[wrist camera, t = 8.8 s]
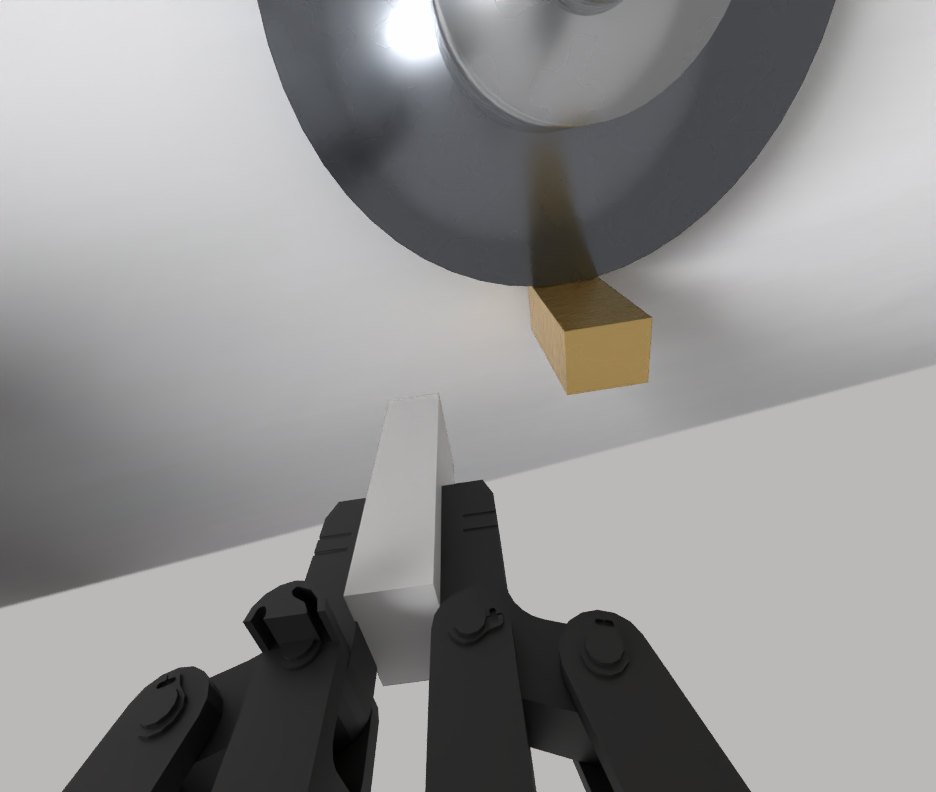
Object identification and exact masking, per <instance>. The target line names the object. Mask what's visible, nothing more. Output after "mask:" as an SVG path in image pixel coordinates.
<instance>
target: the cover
mask: <svg viewBox="0 0 936 792" xmlns="http://www.w3.org/2000/svg"><path fill="white" fill-rule="evenodd" d="M730 2H731V0H430V11H431V17H432V23H433V29H434V33H435V37H436V40H437V44H438V47H439V51H440V53H441V55H442V58H443V60H444V63H445V65H446V68H447V69H448V71H449V73H450V75H451V77H452V79H453V80H454V82H455V84H456V85H457V86H458V88H459V89H460V91H461V92H462V93H463V95H464V96H465V97H466V98H467V99H468V100H469V101H470V102H471V104H472V105H473V106H474V107H475V108H477V109H478V110H479V111H480V112H481V113H483V114H484V115H485V116H487V117H488V118H490V119H491V120H493V121H495V122H496V123H498V124H500V125H503V126H505V127H507V128H510V129H513V130H517V131H521V132H528V133H550V132H555V131H560V130H565V129H570V128H575V127H580V126H585V125H590V124H595V123H599V122H604V121H609V120H611V119H614V118H617V117H620V116H622V115H625V114H627V113H629V112H631V111H633V110H635V109H637V108H639V107H641V106H643V105H644V104H646V103H647V102H649V101H650V100H652V99H653V98H654V97H656V96H657V95H659V94H660V93H662V92H663V91H664V90H665V89H666V88H667V87H668V86H670V85H671V84H672V83H673V82H674V81H675V80H676V79H677V78H679V76H680V75H681V74H682V73H683V72H684V71H685V70H686V69H687V68H688V67H689V65H690V64H691V63H692V62H693V61H694V60H695V59H696V57H697V56H698V55H699V53H700V52H701V50H702V49H703V48H704V46H705V45H706V44H707V42H708V41H709V40H710V38H711V36H712V35H713V33H714V31H715V30H716V28H717V26H718V25H719V23H720V21H721V20H722V18H723V16H724V14H725V12H726V10H727V8H728V6H729V4H730Z"/></svg>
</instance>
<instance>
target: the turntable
mask: <svg viewBox="0 0 936 792" xmlns="http://www.w3.org/2000/svg"><path fill="white" fill-rule="evenodd" d="M257 1H258V5H259V9H260V13H261V17H262V22H263V26H264V30H265V34H266V38H267V42H268V46H269V48H270V51H271V54H272V57H273V60H274V63H275V66H276V69H277V71H278V74H279V77H280V80H281V83H282V86H283V89H284V91H285V93H286V95H287V97H288V99H289V102H290V104H291V106H292V108H293V110H294V112H295V114H296V117H297V119H298V121H299V123H300V125H301V127H302V129H303V131H304V133H305V134H306V136H307V138H308V139H309V141H310V143H311V144H312V146H313V148H314V149H315V151H316V153H317V154H318V156H319V158H320V159H321V161H322V163H323V164H324V166H325V167H326V168H327V170H328V171H329V172H330V174H331V175H332V176H333V177H334V179H335V180H336V181H337V183H338V184H339V185H340V187H341V188H342V189H343V191H344V192H345V193H346V195H347V196H348V197H349V198H350V199H351V200H352V201H353V202H354V203H355V204H356V205H357V206H358V207H359V208H360V209H361V210H362V211H363V212H364V213H365V214H366V215H367V217H368V218H369V219H370V220H371V221H372V222H374V223H375V224H376V225H377V226H379V227H380V228H381V229H382V230H383V231H385V232H386V233H387V234H388V235H390V236H391V237H392V238H393V239H394V240H396V241H397V242H398V243H400V244H401V245H403V246H405V247H406V248H408V249H409V250H411V251H413V252H414V253H416V254H417V255H419V256H420V257H422V258H424V259H425V260H428V261H430V262H432V263H434V264H436V265H438V266H441V267H443V268H445V269H447V270H449V271H451V272H454V273H457V274H461V275H464V276H467V277H470V278H474V279H477V280H480V281H485V282H491V283H497V284H503V285H509V286H528V292H529V304H530V317H531V329H532V331H533V333H534V335H535V337H536V339H537V340H538V342H539V344H540V346H541V348H542V350H543V351H544V353H545V355H546V357H547V359H548V361H549V362H550V364H551V366H552V368H553V370H554V372H555V374H556V375H557V377H558V379H559V381H560V383H561V385H562V386H563V388H564V390H565V392H566V394H567V395H571V394H577V393H583V392H590V391H596V390H602V389H609V388H615V387H621V386H628V385H634V384H640V383H647V382H648V376H649V360H650V344H651V328H652V317H651V316H649V315H648V314H647V313H645V312H644V311H643V310H641V309H640V308H639V307H637V306H636V305H635V304H633V303H632V302H631V301H629V300H628V299H627V298H625V297H624V296H623V295H621V294H620V293H619V292H617V291H616V290H615V289H613V288H612V287H611V286H609V285H608V284H607V283H605V282H604V281H602V280H601V279H600V278H598V277H597V276H600V275H602V274H605V273H608V272H611V271H613V270H616V269H619V268H622V267H624V266H626V265H628V264H630V263H632V262H634V261H636V260H638V259H640V258H642V257H644V256H646V255H648V254H650V253H652V252H654V251H655V250H657V249H658V248H660V247H661V246H663V245H664V244H666V243H667V242H669V241H671V240H672V239H674V238H675V237H677V236H678V235H680V234H681V233H682V232H683V231H685V230H686V229H687V228H688V227H690V226H691V225H692V224H693V223H694V222H696V221H697V220H698V219H699V218H701V217H702V216H703V215H704V214H705V213H707V212H708V211H709V210H710V209H711V208H712V207H713V206H714V205H715V204H716V203H717V202H718V201H719V200H720V199H721V198H722V197H723V196H724V195H725V194H726V193H727V192H728V191H729V190H730V189H731V188H732V187H733V186H734V184H735V183H736V182H737V181H738V179H739V178H740V177H741V176H742V175H743V173H744V172H745V171H746V170H747V169H748V167H749V166H750V165H751V164H752V163H753V161H754V160H755V159H756V158H757V156H758V155H759V154H760V152H761V151H762V149H763V148H764V146H765V145H766V143H767V142H768V140H769V139H770V137H771V136H772V134H773V133H774V131H775V130H776V129H777V127H778V126H779V124H780V123H781V121H782V119H783V117H784V116H785V114H786V112H787V110H788V108H789V107H790V105H791V103H792V101H793V99H794V98H795V96H796V94H797V92H798V90H799V89H800V87H801V85H802V83H803V81H804V79H805V77H806V74H807V72H808V70H809V68H810V65H811V63H812V61H813V59H814V56H815V54H816V52H817V50H818V47H819V45H820V43H821V41H822V38H823V35H824V32H825V29H826V26H827V23H828V21H829V18H830V15H831V12H832V9H833V6H834V3H835V0H731V2H730V4H729V6H728V8H727V10H726V12H725V14H724V16H723V18H722V20H721V21H720V23H719V25H718V26H717V28H716V30H715V31H714V33H713V35H712V36H711V38H710V40H709V41H708V42H707V44H706V45H705V46H704V48H703V49H702V50H701V52H700V53H699V55H698V56H697V57H696V59H695V60H694V61H693V62H692V63H691V64H690V65H689V67H688V68H687V69H686V70H685V71H684V72H683V73H682V74H681V75H680V76H679V78H677V79H676V80H675V81H674V82H673V83H672V84H671V85H670V86H668V87H667V88H666V89H665V90H664V91H663V92H662V93H660V94H659V95H657V96H656V97H654V98H653V99H652V100H650V101H649V102H647V103H646V104H644V105H643V106H641V107H639V108H637V109H635V110H633V111H631V112H629V113H627V114H625V115H622V116H620V117H617V118H614V119H611V120H609V121H604V122H599V123H595V124H590V125H585V126H580V127H575V128H570V129H565V130H560V131H555V132H550V133H528V132H521V131H517V130H513V129H510V128H507V127H505V126H503V125H500V124H498V123H496V122H495V121H493V120H491V119H490V118H488V117H487V116H485V115H484V114H483V113H481V112H480V111H479V110H478V109H477V108H475V107H474V106H473V105H472V104H471V102H470V101H469V100H468V99H467V98H466V97H465V96H464V95H463V93H462V92H461V91H460V89H459V88H458V86H457V85H456V84H455V82H454V80H453V79H452V77H451V75H450V73H449V71H448V69H447V68H446V65H445V63H444V60H443V58H442V55H441V53H440V51H439V47H438V44H437V40H436V37H435V33H434V29H433V23H432V17H431V11H430V0H257Z"/></svg>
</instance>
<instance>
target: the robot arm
mask: <svg viewBox="0 0 936 792" xmlns="http://www.w3.org/2000/svg"><path fill="white" fill-rule="evenodd" d="M243 623H244V624H245V626H246V628H247V629H248V630H249V632H250V634H251V635H252V637H253V638H254V640H255V641H256V643H257V645H258V646H259V648H260V649H261V651H262V653H261V654H260V655H258V656H256V657H255V658H252V659H251V660H249V661H247V662H244V663H242V664H240V665H238V666H236V667H233V668H231V669H229V670H226V671H224V672H222V673H220V674H217V675H215V676H213V677H211V678H209V677H208V676H207V674H206V673H205V672H204V671H202V670H200V669H198V668H196V667H194V666H193V667H182V668H178V669H175V670H173V671H171V672H168V673H166V674H164V675H162V676H160V677H159V678H158V679H156V680H155V681H153V682H152V683H151V684H149V685H148V686H147V687H145V688H144V689H143V690H142V691H141V692H140V694H138V696H137V697H136V698H135V699H134V700H133V701H132V702H131V703H130V704H129V705H128V707H127V708H126V709H125V711H124V712H123V713H122V715H121V716H120V717H119V718H118V720H117V721H116V722H115V723H114V725H113V726H112V727H111V729H110V730H109V731H108V733H107V734H106V735H105V737H104V738H103V739H102V741H101V742H100V743H99V744H98V746H97V747H96V748H95V750H94V751H93V752H92V753H91V755H90V756H89V757H88V759H87V760H86V761H85V763H84V764H83V765H82V766H81V768H80V769H79V770H78V772H77V773H76V774H75V776H74V777H73V778H72V779H71V781H70V782H69V783H68V785H67V786H66V787H65V789H64V790H63V791H62V792H371V785H372V776H373V767H374V758H375V750H376V742H377V733H378V724H379V717H378V707H377V705H376V702H375V700H374V698H373V695H374V687H375V681H376V674H377V673H378V676H379V678H380V680H381V682H382V684H383V686H388V685H396V684H403V683H411V682H419V681H426V680H429V703H428V705H429V706H428V733H427V762H426V791H425V792H536V786H535V778H534V771H533V764H532V757H531V750H530V747H532V748H535V749H539V750H543V751H546V752H550V753H553V754H556V755H559V756H563V757H566V758H569V759H573V762H574V764H575V767H576V769H577V771H578V774H579V776H580V778H581V781H582V783H583V785H584V788H585V790H586V792H751V791H750V790H749V788H748V787H747V785H746V784H745V782H744V781H743V779H742V778H741V777H740V775H739V774H738V772H737V771H736V769H735V768H734V766H733V765H732V763H731V762H730V761H729V759H728V758H727V756H726V755H725V753H724V752H723V750H722V749H721V747H720V746H719V745H718V743H717V742H716V740H715V739H714V737H713V736H712V734H711V733H710V731H709V730H708V729H707V727H706V726H705V724H704V723H703V721H702V720H701V718H700V717H699V715H698V714H697V713H696V711H695V710H694V708H693V707H692V705H691V704H690V702H689V701H688V699H687V698H686V697H685V695H684V694H683V692H682V691H681V689H680V688H679V687H678V685H677V683H676V682H675V681H674V679H673V678H672V676H671V675H670V673H669V672H668V670H667V669H666V667H665V666H664V665H663V663H662V662H661V660H660V659H659V657H658V656H657V654H656V653H655V652H654V650H653V649H652V647H651V646H650V644H649V643H648V641H647V640H646V638H645V637H644V636H643V634H642V633H641V632H640V631H639V630H638V629H637V628H636V627H635V626H634V625H633V624H632V623H631V622H630V621H628V620H626V619H625V618H623V617H621V616H619V615H617V614H615V613H612V612H606V611H600V610H595V611H588V612H583V613H580V614H579V615H578V616H576V617H574V618H573V619H571V620H570V621H569V622H568V623H567V624H565V623H560V622H554V621H549V620H544V619H541V618H537V617H535V616H532V615H530V614H528V613H527V612H525V611H523V610H522V609H521V608H520V607H519V606H518V605H517V604H515V602H514V601H513V599H512V598H511V596H510V595H509V593H508V589H507V583H506V577H505V570H504V562H503V555H502V548H501V541H500V534H499V529H498V522H497V515H496V509H495V503H494V496H493V493H492V491H491V490H490V489H489V488H488V486H487V485H486V484H485V482H484V481H483V480H478V481H471V482H464V483H457V484H454V465H453V460H452V455H451V450H450V445H449V441H448V436H447V431H446V426H445V421H444V416H443V411H442V406H441V402H440V397H439V393H436V394H429V395H423V396H416V397H410V398H403V399H396V400H390V401H389V403H388V407H387V411H386V416H385V420H384V424H383V428H382V433H381V437H380V441H379V446H378V450H377V454H376V458H375V463H374V467H373V471H372V476H371V480H370V484H369V489H368V493H367V497H366V498H363V499H356V500H349V501H342V502H339V503H338V504H337V505H336V506H335V508H334V509H333V510H332V511H331V512H330V514H329V515H328V516H327V517H326V519H325V522H324V525H323V528H322V531H321V534H320V540H319V541H318V543H317V546H316V549H315V556H313V558H312V561H311V564H310V567H309V570H308V573H307V576H306V579H305V581H293V582H290V583H286V584H283V585H280V586H279V587H277V588H275V589H274V590H272V591H270V592H269V593H267V594H265V595H264V596H263V597H262V598H261V599H260V600H259V601H258V602H257V603H256V604H255V605H254V606H253V607H252V608H251V610H250V612H249V613H248V615H247V616H246V618H245V620H244V621H243Z"/></svg>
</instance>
